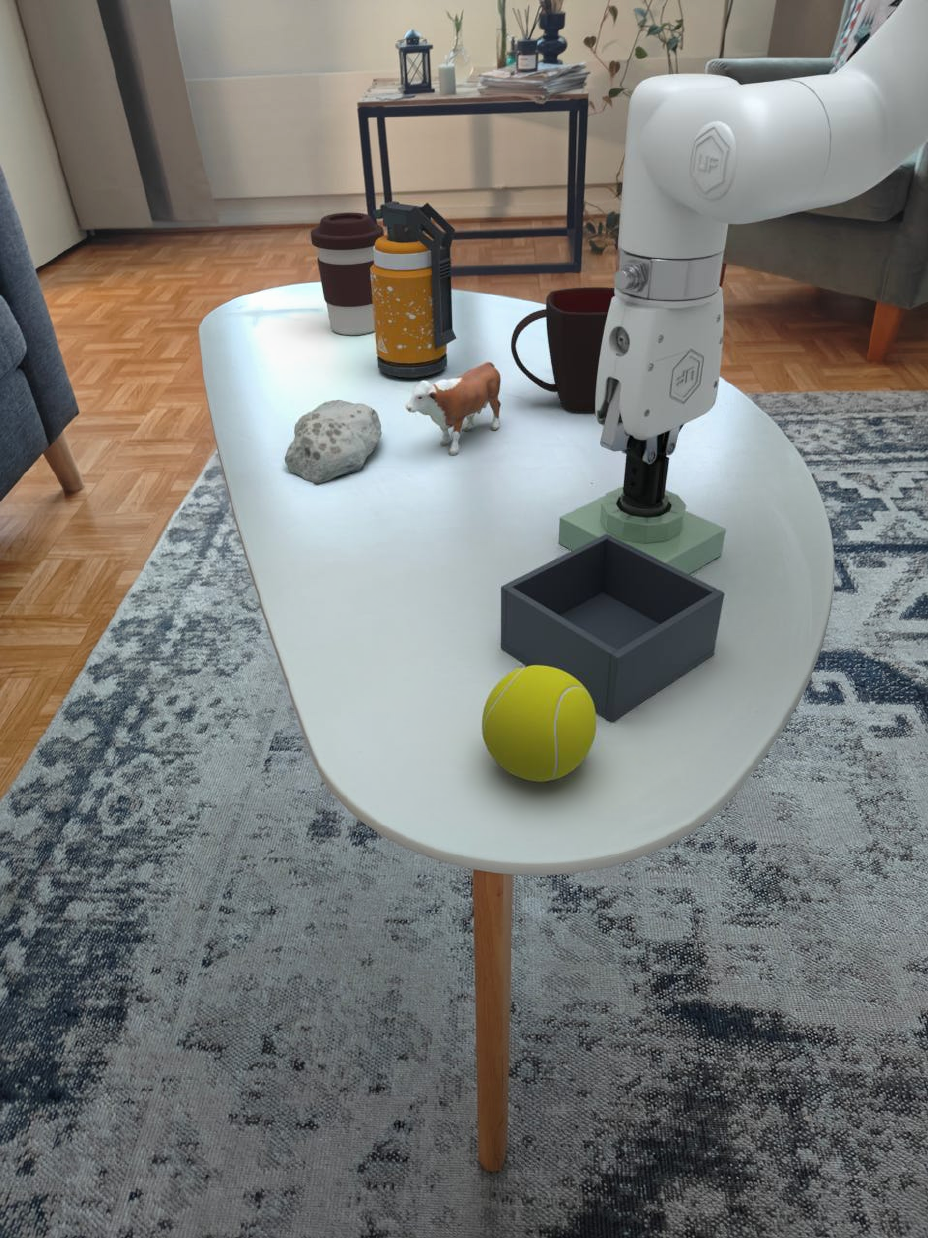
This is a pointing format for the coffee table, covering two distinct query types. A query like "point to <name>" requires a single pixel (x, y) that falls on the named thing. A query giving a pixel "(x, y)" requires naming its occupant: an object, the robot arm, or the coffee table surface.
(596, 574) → the bin
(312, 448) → the decorative stone
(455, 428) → the bull figurine
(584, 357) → the mug
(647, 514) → the button top
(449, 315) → the canister
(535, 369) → the coffee table surface
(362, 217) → the coffee cup
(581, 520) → the push button base
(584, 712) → the tennis ball
